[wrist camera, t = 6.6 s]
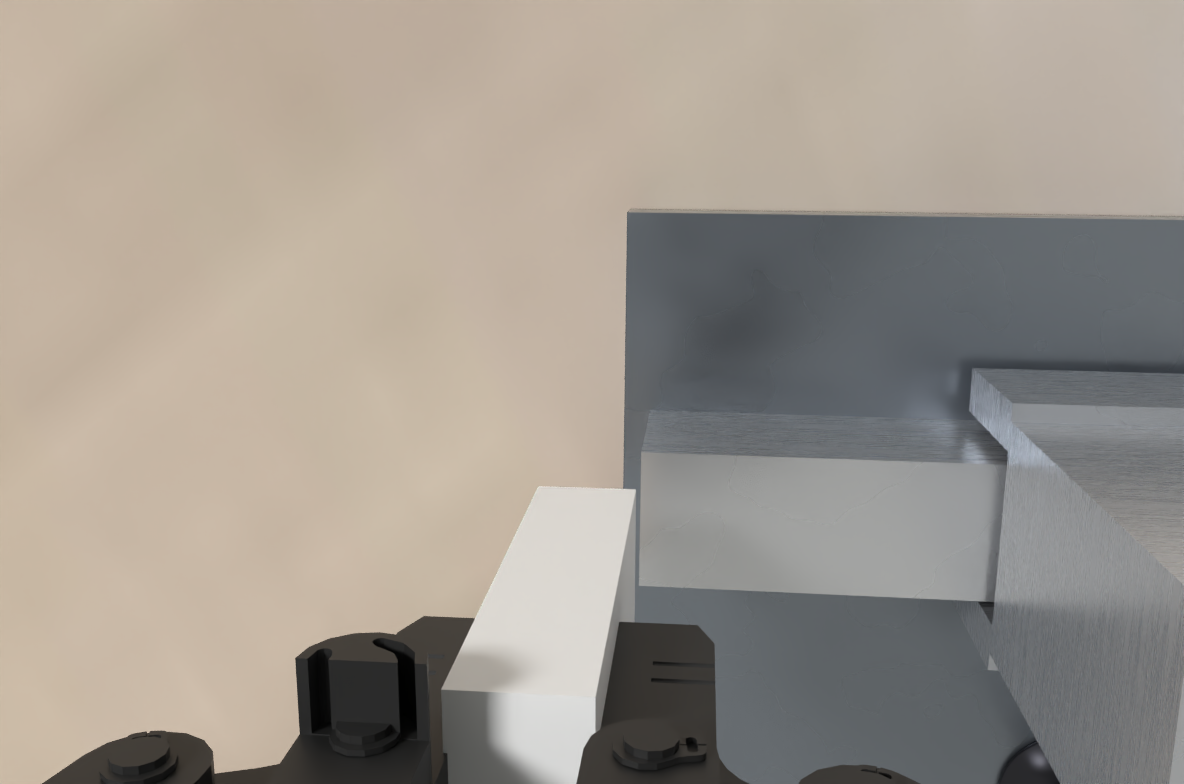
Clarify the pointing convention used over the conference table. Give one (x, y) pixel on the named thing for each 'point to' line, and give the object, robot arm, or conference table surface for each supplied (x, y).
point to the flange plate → (872, 359)
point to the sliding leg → (1089, 568)
